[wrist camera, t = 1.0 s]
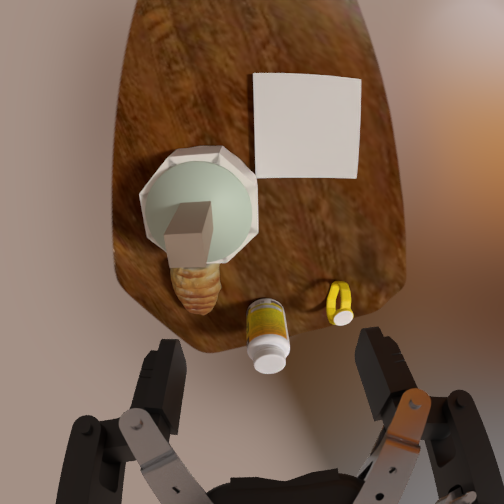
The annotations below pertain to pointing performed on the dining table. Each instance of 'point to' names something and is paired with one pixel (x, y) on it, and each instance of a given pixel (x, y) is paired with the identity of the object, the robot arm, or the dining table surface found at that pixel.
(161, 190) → the lid
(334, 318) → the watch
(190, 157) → the bowl
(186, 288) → the pastry
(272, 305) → the supplement bottle
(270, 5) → the dining table surface
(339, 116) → the mat
